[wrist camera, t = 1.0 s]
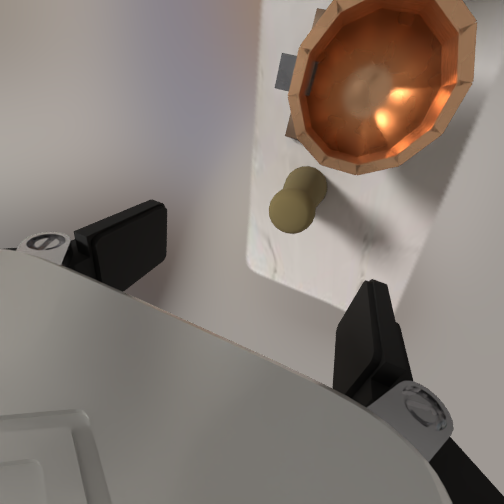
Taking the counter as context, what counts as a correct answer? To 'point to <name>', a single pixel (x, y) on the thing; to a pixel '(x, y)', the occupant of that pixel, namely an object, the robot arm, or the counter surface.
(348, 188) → the counter surface
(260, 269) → the counter surface
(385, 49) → the cup bracket
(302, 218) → the cork
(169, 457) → the robot arm
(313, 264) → the counter surface
